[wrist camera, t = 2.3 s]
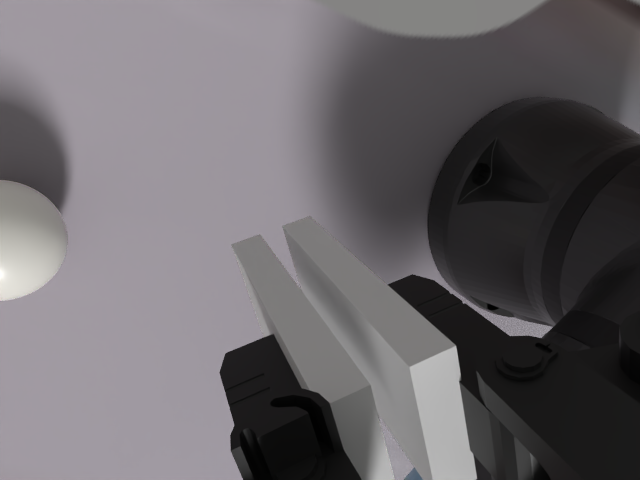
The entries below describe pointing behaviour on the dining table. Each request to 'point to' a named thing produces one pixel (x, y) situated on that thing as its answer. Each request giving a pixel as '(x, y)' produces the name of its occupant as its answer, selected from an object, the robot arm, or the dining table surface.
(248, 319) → the dining table surface
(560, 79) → the dining table surface
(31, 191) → the cue ball
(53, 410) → the dining table surface
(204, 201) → the dining table surface
